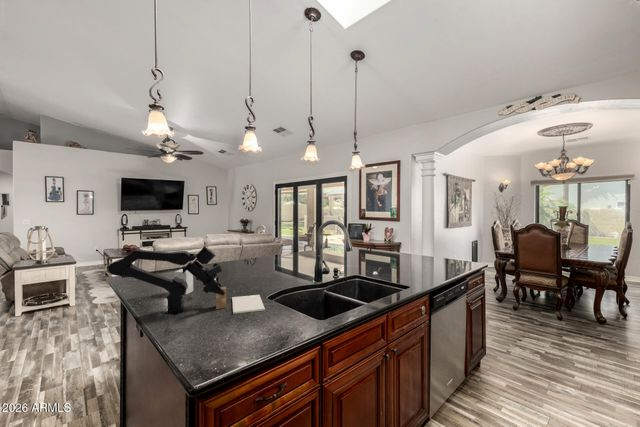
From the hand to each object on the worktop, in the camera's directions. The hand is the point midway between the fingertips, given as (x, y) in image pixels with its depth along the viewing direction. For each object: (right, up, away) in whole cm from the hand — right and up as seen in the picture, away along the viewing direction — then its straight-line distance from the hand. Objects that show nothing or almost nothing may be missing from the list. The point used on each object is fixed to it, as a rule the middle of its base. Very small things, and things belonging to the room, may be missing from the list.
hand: (224, 292), depth 133 cm
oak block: (-1, -7, 0) cm, 7 cm away
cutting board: (+10, -7, +4) cm, 13 cm away
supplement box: (-30, -6, +22) cm, 38 cm away
